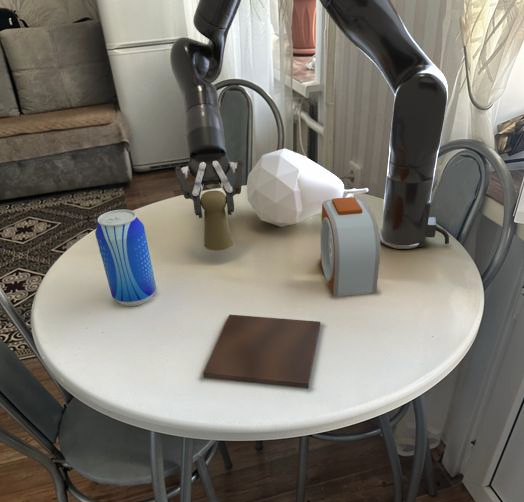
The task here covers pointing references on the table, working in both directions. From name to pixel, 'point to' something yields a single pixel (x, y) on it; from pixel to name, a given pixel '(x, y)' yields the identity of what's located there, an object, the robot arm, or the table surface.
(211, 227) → the olive game pawn
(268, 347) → the place mat
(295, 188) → the pear ornament
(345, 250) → the alarm clock
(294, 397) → the table surface
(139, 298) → the beer can
